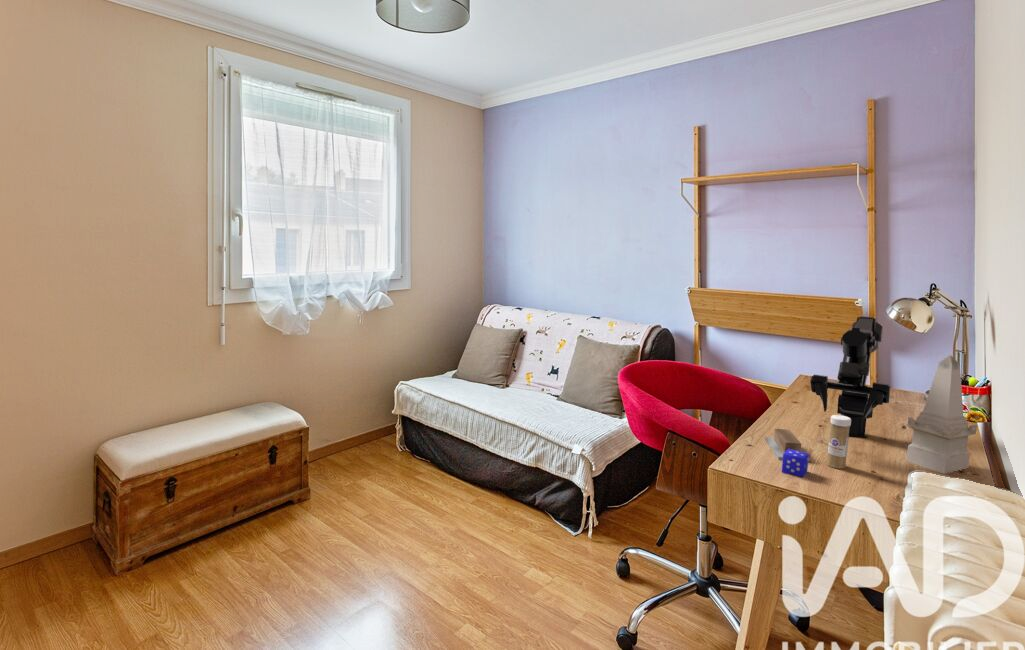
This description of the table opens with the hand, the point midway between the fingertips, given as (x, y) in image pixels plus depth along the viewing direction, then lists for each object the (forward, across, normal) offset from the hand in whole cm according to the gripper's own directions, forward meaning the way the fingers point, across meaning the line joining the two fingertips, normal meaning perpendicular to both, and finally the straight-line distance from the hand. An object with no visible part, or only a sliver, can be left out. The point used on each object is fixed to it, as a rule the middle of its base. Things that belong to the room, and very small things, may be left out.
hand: (844, 414), depth 149 cm
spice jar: (+14, 0, +4) cm, 14 cm away
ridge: (+11, -13, +7) cm, 18 cm away
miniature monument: (+1, +21, +18) cm, 27 cm away
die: (+22, -8, -4) cm, 24 cm away
